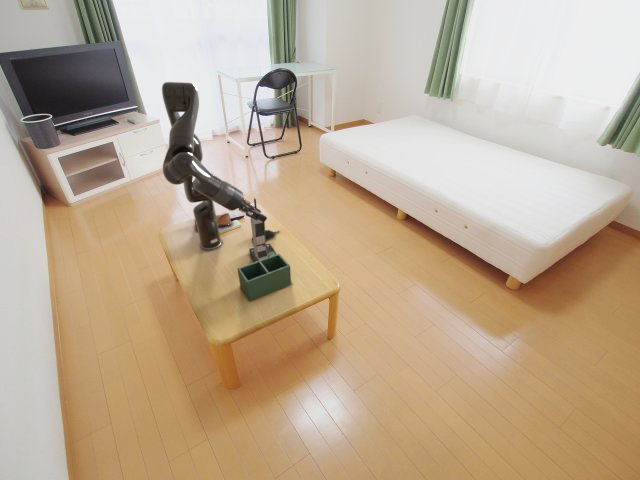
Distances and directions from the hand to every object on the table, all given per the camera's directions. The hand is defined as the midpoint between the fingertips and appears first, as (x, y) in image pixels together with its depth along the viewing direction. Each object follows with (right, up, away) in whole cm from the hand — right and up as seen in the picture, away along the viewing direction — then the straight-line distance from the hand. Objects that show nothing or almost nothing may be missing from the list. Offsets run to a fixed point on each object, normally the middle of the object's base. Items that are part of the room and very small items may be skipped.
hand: (262, 216), depth 122 cm
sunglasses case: (-34, -1, +54) cm, 64 cm away
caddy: (-1, -27, +16) cm, 32 cm away
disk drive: (-4, -18, +31) cm, 36 cm away
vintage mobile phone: (-2, -15, +9) cm, 18 cm away
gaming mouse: (-6, -7, +45) cm, 46 cm away
